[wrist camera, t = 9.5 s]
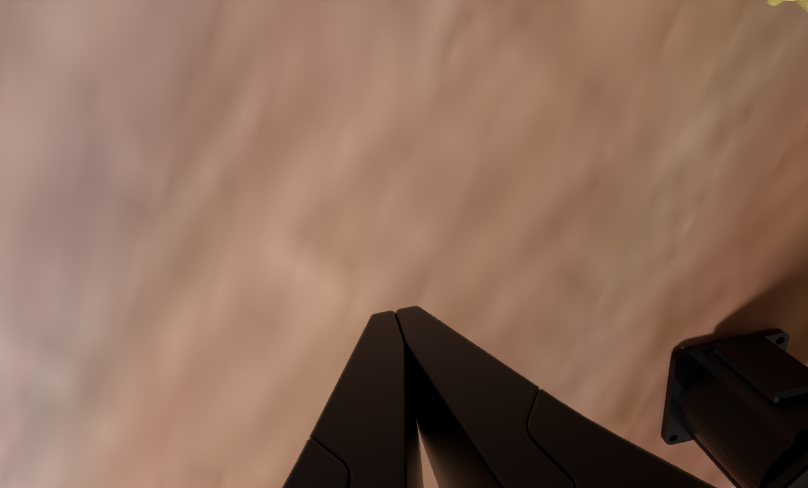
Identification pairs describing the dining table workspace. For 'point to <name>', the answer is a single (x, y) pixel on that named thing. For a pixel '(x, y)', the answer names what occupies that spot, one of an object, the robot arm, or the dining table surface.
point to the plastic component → (804, 0)
